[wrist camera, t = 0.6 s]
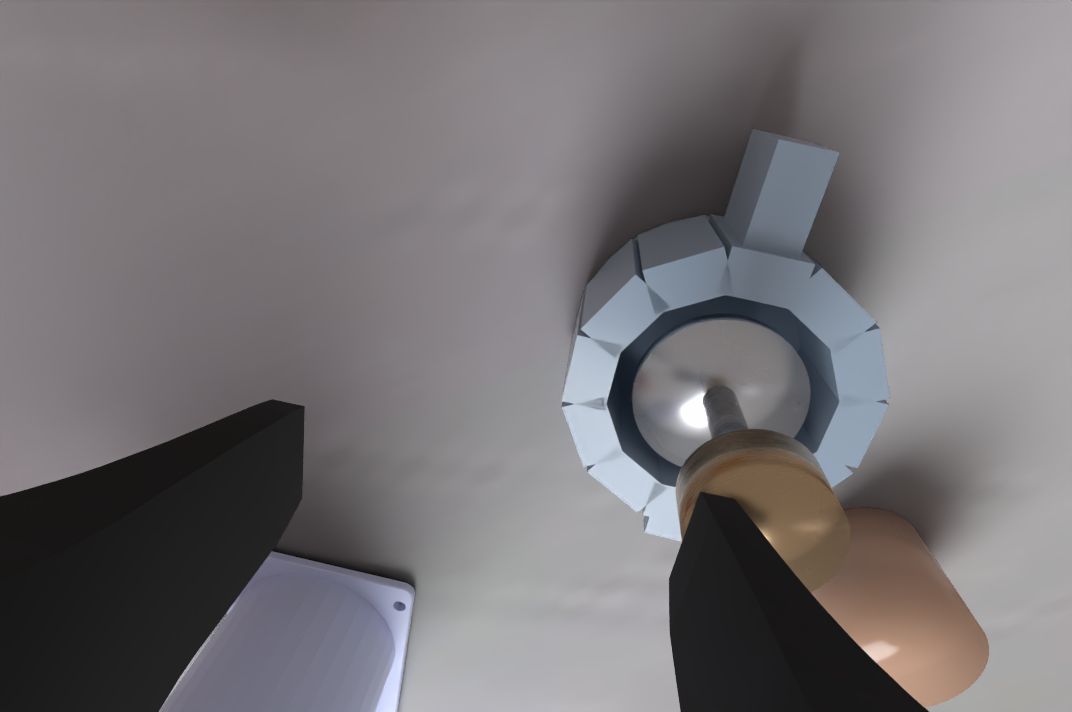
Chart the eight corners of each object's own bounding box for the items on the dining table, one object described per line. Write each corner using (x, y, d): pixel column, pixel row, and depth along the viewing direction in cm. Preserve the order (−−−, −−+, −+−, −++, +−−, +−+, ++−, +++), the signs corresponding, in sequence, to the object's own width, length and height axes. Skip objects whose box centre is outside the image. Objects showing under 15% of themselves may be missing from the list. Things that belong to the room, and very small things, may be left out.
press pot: (774, 485, 22) (807, 570, 19) (549, 434, 23) (536, 507, 19) (915, 162, 18) (997, 186, 14) (628, 101, 18) (631, 108, 14)
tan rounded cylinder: (891, 616, 24) (945, 723, 20) (773, 589, 24) (804, 690, 20) (946, 523, 22) (1018, 622, 18) (818, 494, 22) (862, 585, 18)
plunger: (770, 478, 18) (838, 656, 13) (614, 443, 18) (614, 603, 13) (832, 335, 16) (944, 470, 11) (657, 296, 16) (678, 409, 11)
